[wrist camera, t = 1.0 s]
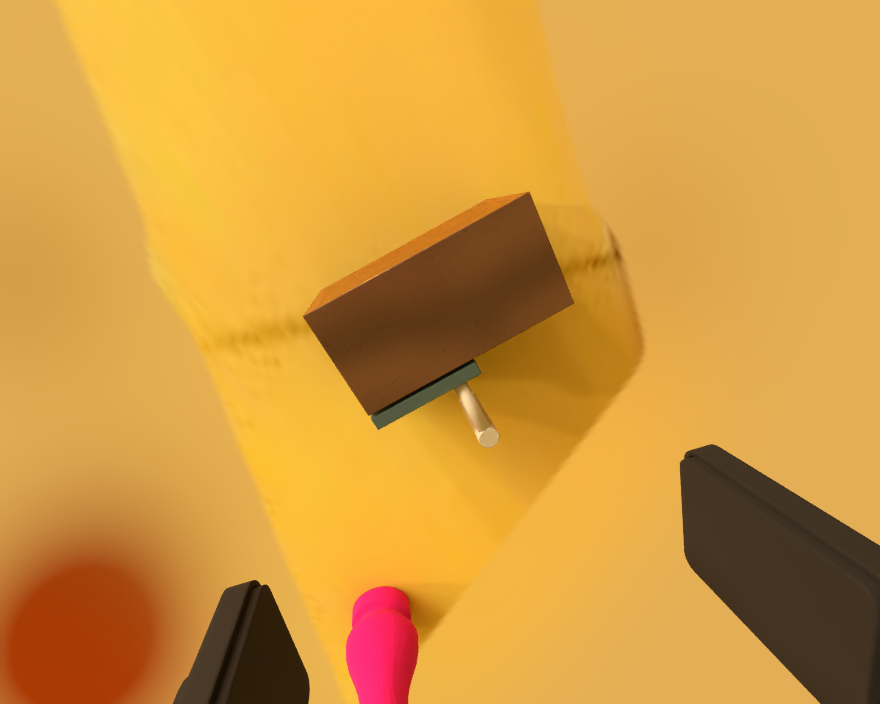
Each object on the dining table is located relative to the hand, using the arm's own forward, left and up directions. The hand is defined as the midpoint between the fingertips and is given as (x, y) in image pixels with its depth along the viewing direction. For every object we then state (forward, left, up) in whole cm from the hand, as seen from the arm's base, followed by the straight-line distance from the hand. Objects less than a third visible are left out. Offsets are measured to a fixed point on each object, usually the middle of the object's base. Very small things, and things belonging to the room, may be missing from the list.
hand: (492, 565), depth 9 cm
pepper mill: (+29, -18, -30) cm, 45 cm away
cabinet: (0, +3, -29) cm, 30 cm away
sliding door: (+7, -1, -29) cm, 30 cm away
